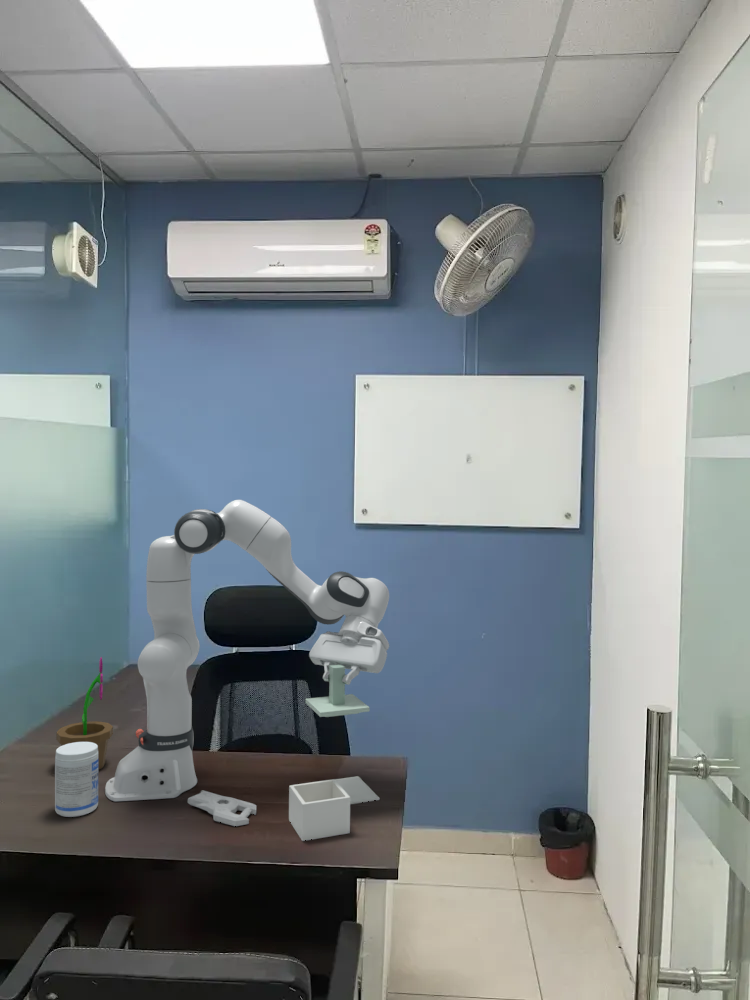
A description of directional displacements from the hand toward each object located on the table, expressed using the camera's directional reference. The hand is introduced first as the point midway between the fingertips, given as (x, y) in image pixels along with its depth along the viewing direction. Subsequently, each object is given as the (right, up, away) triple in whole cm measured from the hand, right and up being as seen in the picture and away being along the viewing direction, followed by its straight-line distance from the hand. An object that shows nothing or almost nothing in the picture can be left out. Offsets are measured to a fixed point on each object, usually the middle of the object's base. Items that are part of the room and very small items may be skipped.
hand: (335, 681), depth 179 cm
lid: (0, -7, +1) cm, 7 cm away
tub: (-3, -30, -13) cm, 33 cm away
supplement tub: (-61, -29, -6) cm, 68 cm away
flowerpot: (-70, -29, +21) cm, 78 cm away
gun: (-26, -30, -6) cm, 40 cm away
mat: (+1, -30, +6) cm, 30 cm away
